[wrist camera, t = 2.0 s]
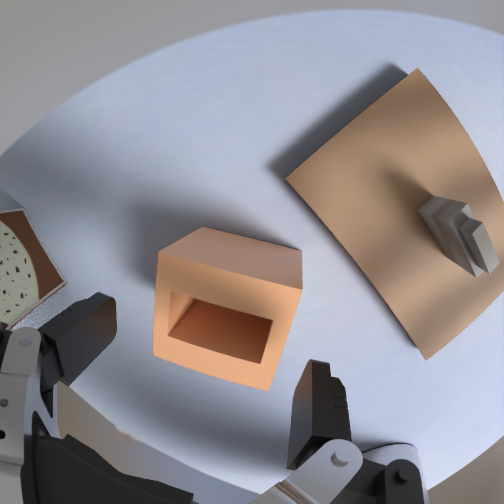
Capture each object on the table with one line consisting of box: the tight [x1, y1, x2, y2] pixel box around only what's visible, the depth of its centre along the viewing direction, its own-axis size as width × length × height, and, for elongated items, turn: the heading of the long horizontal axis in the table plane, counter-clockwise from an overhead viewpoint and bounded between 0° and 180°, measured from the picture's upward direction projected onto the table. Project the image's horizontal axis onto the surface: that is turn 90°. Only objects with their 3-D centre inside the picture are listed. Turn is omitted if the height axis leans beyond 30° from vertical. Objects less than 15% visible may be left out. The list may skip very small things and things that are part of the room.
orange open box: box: [153, 227, 302, 391], centre depth 15 cm, size 6×6×6 cm
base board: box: [285, 68, 504, 360], centre depth 12 cm, size 16×11×6 cm
